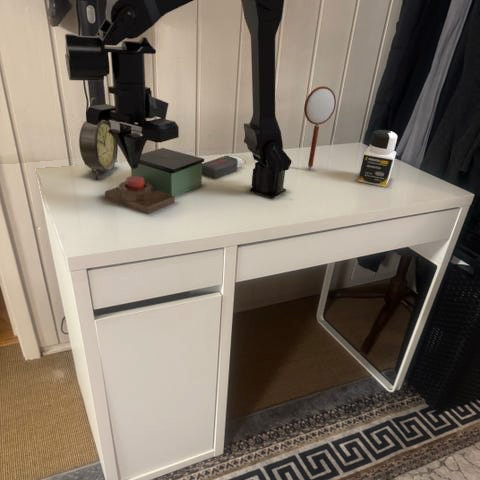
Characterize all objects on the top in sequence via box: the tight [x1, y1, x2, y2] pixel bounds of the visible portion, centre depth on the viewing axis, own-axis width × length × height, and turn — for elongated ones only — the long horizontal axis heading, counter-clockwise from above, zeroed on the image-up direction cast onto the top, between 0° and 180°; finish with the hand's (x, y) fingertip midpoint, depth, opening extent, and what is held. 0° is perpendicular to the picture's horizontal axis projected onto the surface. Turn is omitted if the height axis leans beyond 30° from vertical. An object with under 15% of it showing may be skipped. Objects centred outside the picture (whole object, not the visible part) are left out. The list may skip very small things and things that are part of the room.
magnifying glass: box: [303, 86, 337, 171], centre depth 116 cm, size 9×2×20 cm, turn 113°
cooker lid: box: [139, 147, 205, 173], centre depth 102 cm, size 12×11×1 cm
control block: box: [104, 180, 175, 215], centre depth 96 cm, size 12×8×4 cm
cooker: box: [130, 162, 203, 198], centre depth 104 cm, size 12×11×5 cm
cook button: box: [125, 175, 145, 190], centre depth 94 cm, size 4×4×2 cm
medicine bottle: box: [357, 129, 398, 188], centre depth 116 cm, size 7×7×12 cm
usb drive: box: [202, 155, 242, 180], centre depth 115 cm, size 5×12×3 cm, turn 143°
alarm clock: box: [78, 97, 119, 180], centre depth 104 cm, size 11×5×16 cm, turn 168°
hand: (134, 168), depth 92 cm, fingers closed
